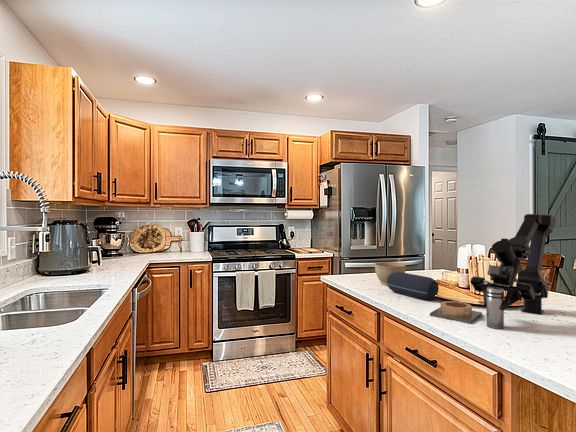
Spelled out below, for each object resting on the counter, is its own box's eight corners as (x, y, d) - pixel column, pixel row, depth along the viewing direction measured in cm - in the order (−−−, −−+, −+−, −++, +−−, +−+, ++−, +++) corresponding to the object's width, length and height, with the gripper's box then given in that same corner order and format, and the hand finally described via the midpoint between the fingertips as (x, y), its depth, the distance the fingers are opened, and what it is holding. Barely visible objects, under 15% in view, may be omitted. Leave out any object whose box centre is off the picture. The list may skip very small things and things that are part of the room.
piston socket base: (443, 308, 140) (443, 298, 139) (482, 314, 130) (482, 304, 130) (429, 315, 129) (429, 305, 129) (470, 323, 120) (470, 312, 120)
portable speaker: (443, 300, 152) (443, 277, 152) (428, 303, 147) (428, 280, 147) (399, 289, 174) (398, 269, 174) (384, 292, 169) (384, 271, 169)
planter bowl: (368, 282, 192) (368, 262, 192) (394, 280, 197) (393, 261, 197) (385, 288, 177) (385, 267, 177) (412, 286, 181) (412, 265, 181)
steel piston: (488, 323, 120) (488, 285, 120) (505, 326, 116) (505, 288, 116) (484, 327, 116) (484, 288, 116) (502, 330, 113) (502, 290, 113)
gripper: (472, 254, 126) (456, 288, 120) (531, 259, 111) (517, 299, 105) (483, 273, 131) (468, 307, 124) (541, 281, 115) (527, 320, 109)
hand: (493, 308), depth 115 cm, fingers closed on steel piston, 5 cm apart
